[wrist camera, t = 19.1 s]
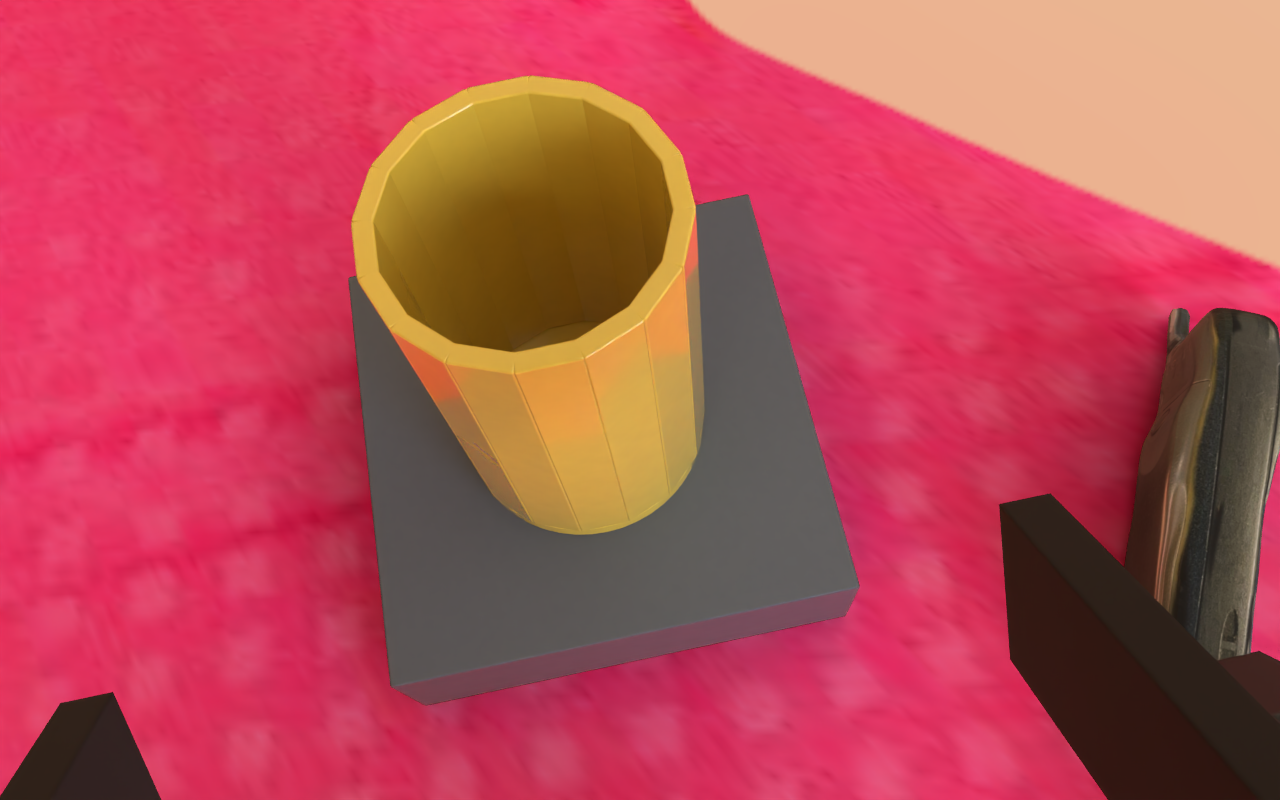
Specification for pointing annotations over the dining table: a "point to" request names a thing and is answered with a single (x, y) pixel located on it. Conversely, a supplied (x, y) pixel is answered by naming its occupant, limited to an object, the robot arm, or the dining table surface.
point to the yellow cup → (545, 294)
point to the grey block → (623, 558)
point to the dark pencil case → (1209, 475)
